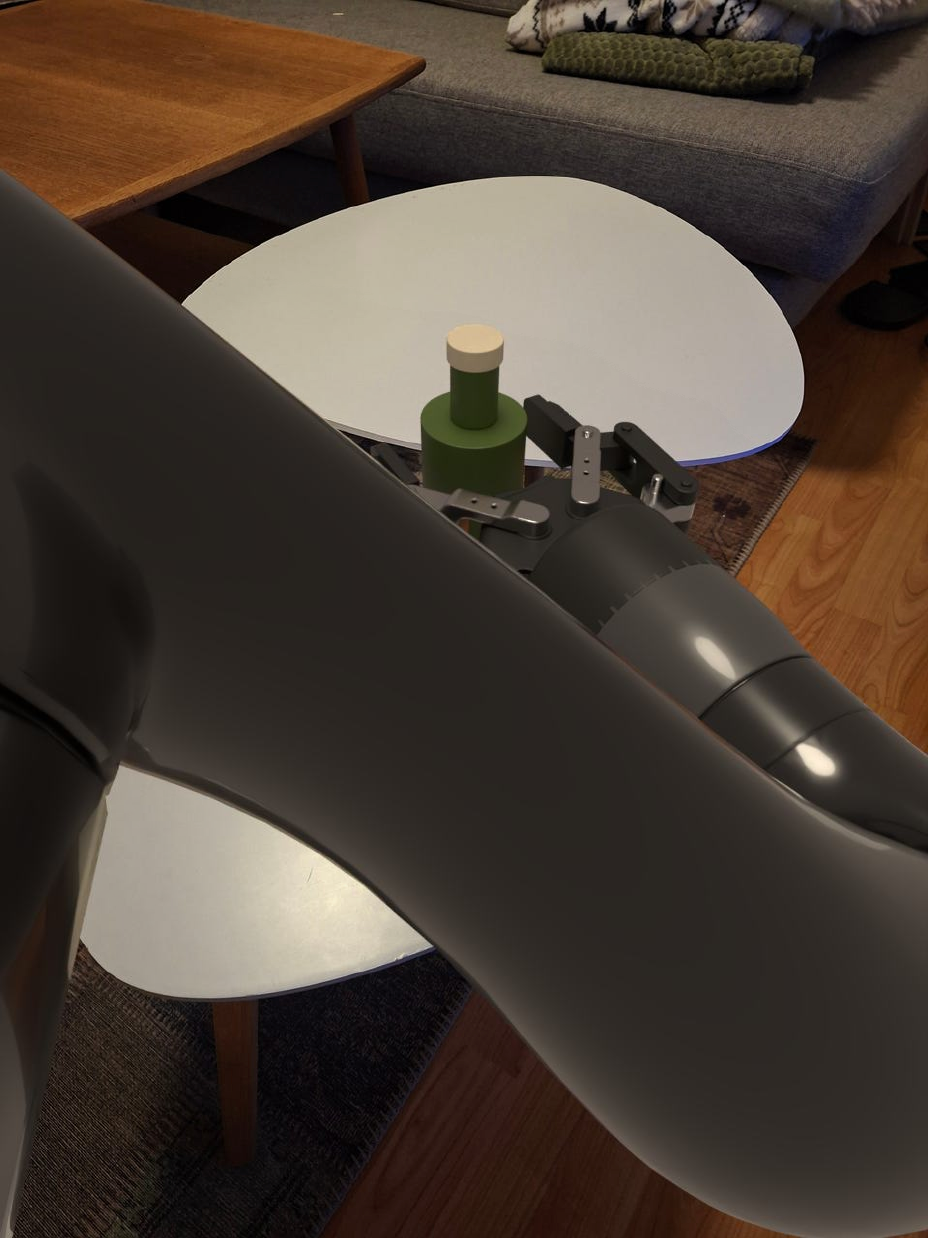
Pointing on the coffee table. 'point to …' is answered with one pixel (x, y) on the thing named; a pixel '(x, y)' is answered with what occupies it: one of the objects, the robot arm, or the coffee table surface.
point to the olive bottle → (473, 422)
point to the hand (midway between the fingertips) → (455, 434)
